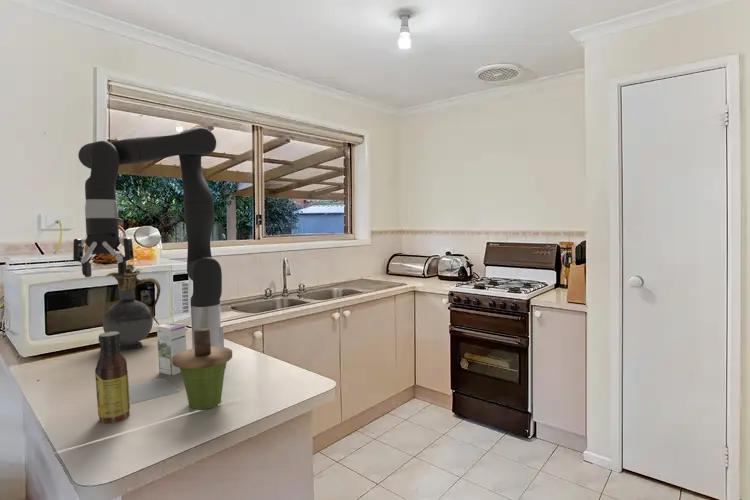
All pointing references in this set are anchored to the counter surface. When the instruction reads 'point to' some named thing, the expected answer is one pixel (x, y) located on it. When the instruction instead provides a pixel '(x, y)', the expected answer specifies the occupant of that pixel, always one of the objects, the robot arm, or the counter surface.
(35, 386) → the counter surface
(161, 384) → the rubber mat
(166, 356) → the syrup box
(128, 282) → the pitcher
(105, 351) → the sauce bottle
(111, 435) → the counter surface
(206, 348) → the walnut lid
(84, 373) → the counter surface
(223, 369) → the plant pot
